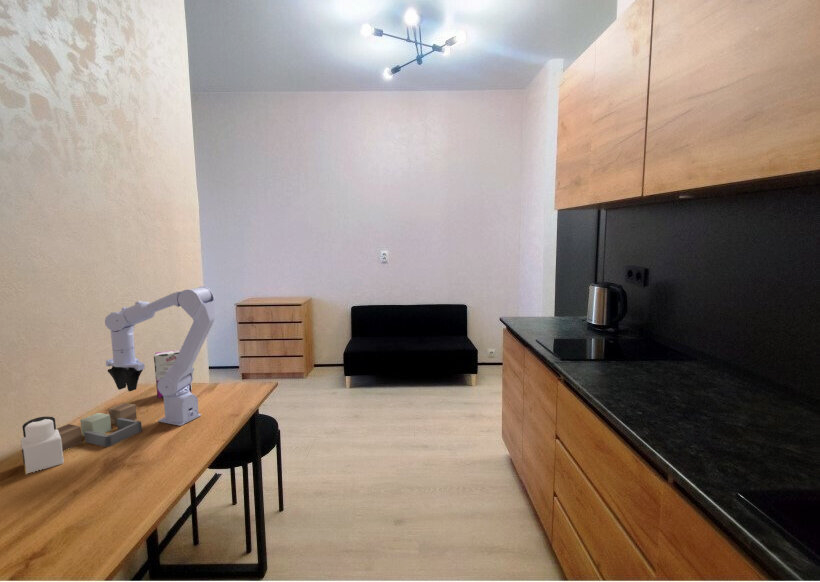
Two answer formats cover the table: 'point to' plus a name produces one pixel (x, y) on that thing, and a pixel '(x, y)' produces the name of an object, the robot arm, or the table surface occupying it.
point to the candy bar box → (164, 365)
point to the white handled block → (41, 444)
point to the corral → (114, 433)
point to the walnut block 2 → (122, 412)
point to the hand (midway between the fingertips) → (127, 389)
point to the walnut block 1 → (70, 436)
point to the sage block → (96, 423)
